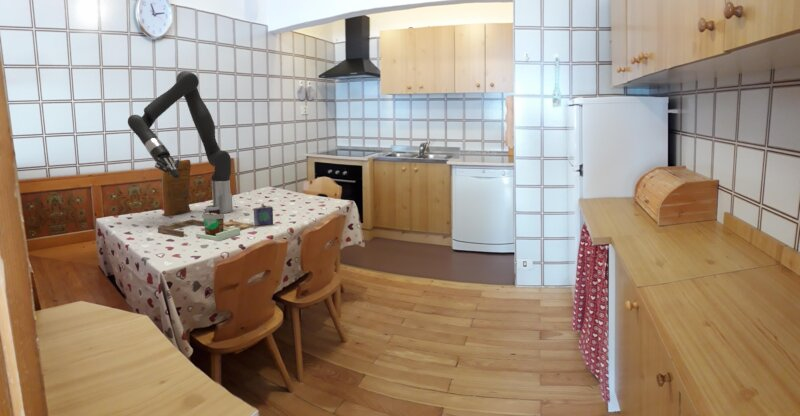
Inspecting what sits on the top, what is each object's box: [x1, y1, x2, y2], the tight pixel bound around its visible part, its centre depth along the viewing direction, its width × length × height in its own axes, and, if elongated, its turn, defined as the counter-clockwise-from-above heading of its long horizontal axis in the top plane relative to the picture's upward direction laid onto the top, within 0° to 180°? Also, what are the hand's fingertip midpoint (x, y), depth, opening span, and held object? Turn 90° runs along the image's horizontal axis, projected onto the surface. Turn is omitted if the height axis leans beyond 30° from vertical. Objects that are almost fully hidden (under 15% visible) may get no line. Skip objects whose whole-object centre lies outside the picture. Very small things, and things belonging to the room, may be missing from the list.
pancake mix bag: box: [161, 159, 192, 217], centre depth 270 cm, size 7×19×28 cm, turn 151°
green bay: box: [195, 228, 241, 242], centre depth 230 cm, size 13×13×3 cm
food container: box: [201, 210, 225, 236], centre depth 231 cm, size 12×6×10 cm, turn 54°
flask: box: [253, 202, 274, 227], centre depth 250 cm, size 9×3×11 cm, turn 120°
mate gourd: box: [204, 192, 223, 214], centre depth 254 cm, size 8×8×15 cm
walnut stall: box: [157, 219, 205, 238], centre depth 239 cm, size 19×15×2 cm
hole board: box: [223, 220, 255, 231], centre depth 245 cm, size 14×14×1 cm
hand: (177, 177), depth 242 cm, fingers closed
